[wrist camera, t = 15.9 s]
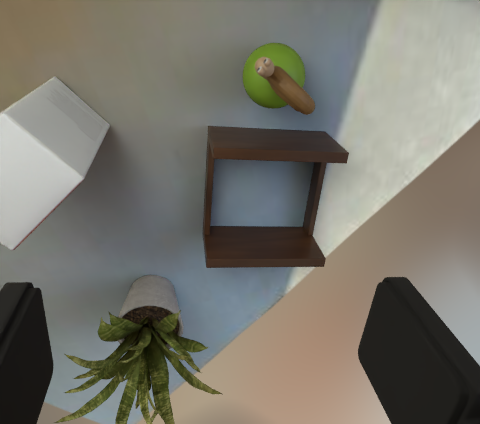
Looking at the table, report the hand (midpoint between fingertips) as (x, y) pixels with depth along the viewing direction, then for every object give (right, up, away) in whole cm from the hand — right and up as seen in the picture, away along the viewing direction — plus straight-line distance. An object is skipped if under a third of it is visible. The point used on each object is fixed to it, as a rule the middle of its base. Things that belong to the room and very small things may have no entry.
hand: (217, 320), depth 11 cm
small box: (-16, +11, +27) cm, 33 cm away
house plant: (-11, -6, +36) cm, 38 cm away
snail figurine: (+3, +17, +27) cm, 31 cm away
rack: (+3, +6, +32) cm, 33 cm away
